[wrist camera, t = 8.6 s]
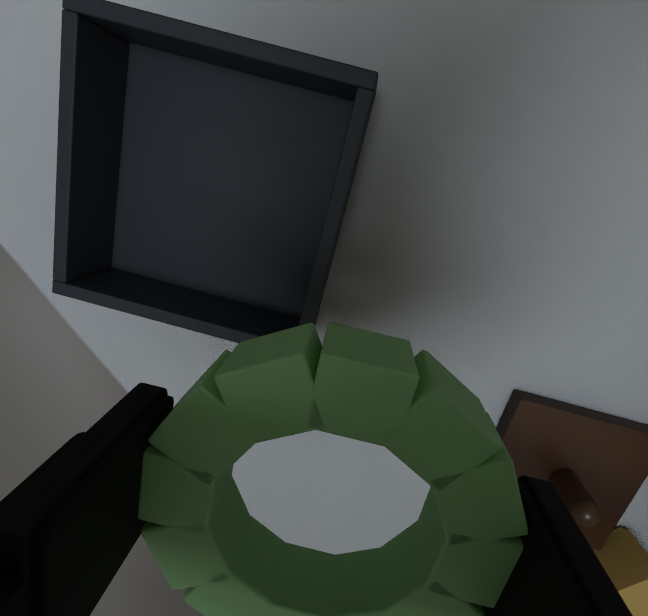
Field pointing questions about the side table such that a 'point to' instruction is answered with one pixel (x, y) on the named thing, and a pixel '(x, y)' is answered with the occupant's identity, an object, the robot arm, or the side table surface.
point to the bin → (200, 171)
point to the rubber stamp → (627, 569)
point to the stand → (578, 458)
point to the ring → (349, 421)
